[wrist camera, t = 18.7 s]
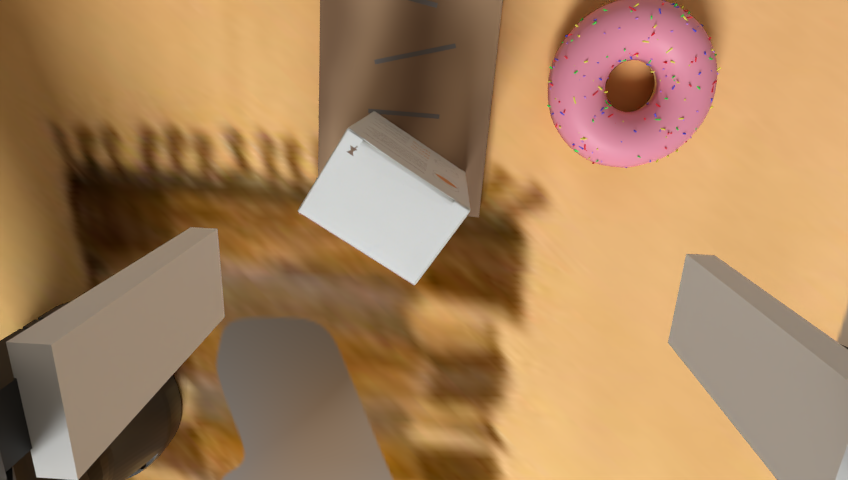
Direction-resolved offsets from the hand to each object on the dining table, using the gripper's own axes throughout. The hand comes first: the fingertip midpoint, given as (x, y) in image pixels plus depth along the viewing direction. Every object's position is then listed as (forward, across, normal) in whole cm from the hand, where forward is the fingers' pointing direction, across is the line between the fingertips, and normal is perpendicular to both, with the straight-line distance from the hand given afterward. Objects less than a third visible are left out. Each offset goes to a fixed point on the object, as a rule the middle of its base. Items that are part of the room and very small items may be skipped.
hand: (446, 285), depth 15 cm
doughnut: (+26, +12, +5) cm, 29 cm away
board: (+26, -3, +6) cm, 26 cm away
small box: (+24, -3, -2) cm, 25 cm away
